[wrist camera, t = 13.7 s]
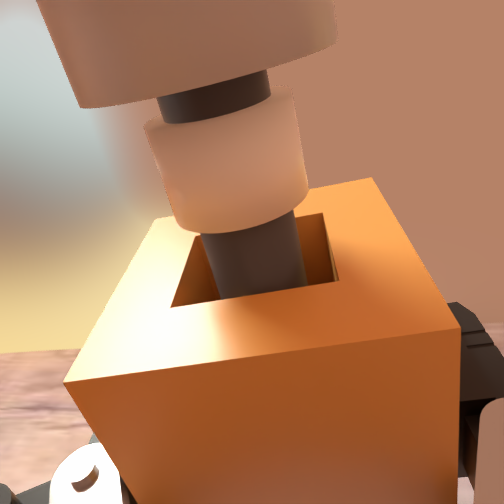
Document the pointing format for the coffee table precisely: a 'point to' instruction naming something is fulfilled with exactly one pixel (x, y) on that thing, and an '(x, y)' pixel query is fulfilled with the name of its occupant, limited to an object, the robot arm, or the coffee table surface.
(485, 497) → the robot arm
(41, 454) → the coffee table surface
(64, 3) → the stand
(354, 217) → the sleeve
